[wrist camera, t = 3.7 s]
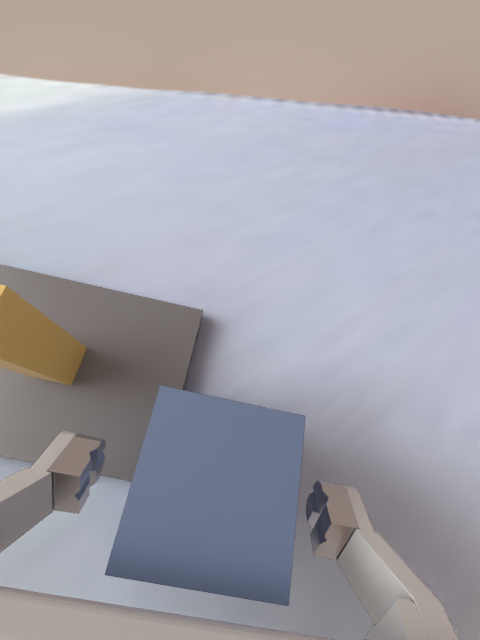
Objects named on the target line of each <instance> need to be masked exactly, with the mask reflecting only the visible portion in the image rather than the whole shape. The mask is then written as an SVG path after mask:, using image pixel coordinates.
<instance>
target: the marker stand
mask: <svg viewBox="0 0 480 640" xmlns="http://www.w3.org/2000/svg"><path fill="white" fill-rule="evenodd" d="M202 316H203V310H199V309H194V308H190V307H185V306H181V305H177V304H172V303H168V302H163V301H159V300H155V299H150V298H146V297H141V296H137V295H133V294H128V293H124V292H119V291H115V290H111V289H106V288H102V287H97V286H93V285H89V284H84V283H80V282H75V281H71V280H67V279H62V278H58V277H53V276H49V275H45V274H40V273H36V272H31V271H27V270H23V269H18V268H14V267H9V266H5V265H1V264H0V456H1V457H7V458H12V459H17V460H23V461H28V462H33V463H35V462H36V461H37V460H38V459H39V458H40V456H41V455H42V454H43V453H44V452H45V450H46V449H47V448H48V447H49V446H50V444H51V443H52V442H53V441H54V440H55V438H56V437H57V436H58V435H59V434H60V433H61V432H63V431H68V432H73V433H78V434H83V435H87V436H92V437H96V438H101V439H105V440H106V447H105V449H104V450H103V453H104V455H105V461H104V465H103V469H102V471H101V474H100V475H102V476H107V477H112V478H118V479H123V480H128V481H132V480H133V476H134V473H135V470H136V466H137V463H138V459H139V456H140V453H141V449H142V446H143V442H144V439H145V436H146V432H147V429H148V425H149V422H150V418H151V415H152V412H153V408H154V405H155V401H156V398H157V395H158V391H159V388H160V385H161V386H165V387H170V388H175V389H180V390H183V389H184V386H185V382H186V378H187V374H188V370H189V366H190V362H191V359H192V355H193V351H194V347H195V343H196V339H197V336H198V332H199V328H200V324H201V320H202Z"/></svg>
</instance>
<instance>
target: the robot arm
mask: <svg viewBox="0 0 480 640" xmlns="http://www.w3.org/2000/svg"><path fill="white" fill-rule="evenodd" d="M105 447H106V440H105V439H101V438H96V437H92V436H87V435H83V434H78V433H73V432H68V431H63V432H61V433H60V434H59V435H58V436H57V437H56V438H55V440H54V441H53V442H52V443H51V444H50V446H49V447H48V448H47V449H46V450H45V452H44V453H43V454H42V455H41V456H40V458H39V459H38V460H37V461H36V462H35V464H34V465H33V466H32V467H31V468H25V469H23V470H21V471H19V472H17V473H15V474H13V475H11V476H9V477H8V478H6V479H4V480H2V481H0V553H1V552H2V551H3V550H4V549H6V548H7V547H8V546H9V545H11V544H12V543H13V542H15V541H16V540H17V539H18V538H20V537H21V536H22V535H24V534H25V533H26V532H27V531H29V530H30V529H31V528H33V527H34V526H35V525H36V524H38V523H39V522H40V521H42V520H43V519H44V518H45V517H47V516H48V515H49V514H51V513H52V512H53V510H56V511H63V512H70V513H77V514H79V513H80V511H81V509H82V507H83V505H84V504H85V502H86V500H87V498H88V496H89V491H90V487H91V486H92V485H94V484H95V483H96V482H97V480H98V478H99V476H100V474H101V471H102V469H103V465H104V461H105V455H104V453H103V450H104V449H105ZM313 488H314V492H313V493H311V494H309V497H308V499H307V504H306V516H307V522H308V523H309V525H310V526H311V528H312V529H313V530H312V532H311V534H310V538H311V544H312V549H313V554H314V556H319V557H323V558H328V559H333V560H337V561H336V562H337V564H338V565H339V567H340V569H341V570H342V572H343V573H344V575H345V577H346V578H347V580H348V582H349V583H350V585H351V587H352V588H353V590H354V591H355V593H356V595H357V596H358V598H359V600H360V601H361V603H362V604H363V606H364V608H365V609H366V611H367V613H368V614H369V616H370V617H371V619H372V621H373V622H374V624H375V625H374V627H373V628H372V629H371V630H370V631H369V633H368V634H367V635H366V637H365V639H364V640H459V639H458V637H457V635H456V633H455V631H454V629H453V627H452V625H451V623H450V621H449V618H448V616H447V614H446V612H445V610H444V608H443V606H442V604H441V603H440V602H439V600H438V599H437V598H436V597H435V596H434V595H433V594H432V593H431V592H430V590H429V589H428V588H427V587H426V586H425V585H424V584H423V583H422V581H421V580H420V579H419V578H418V577H417V576H416V575H415V574H414V572H413V571H412V570H411V569H410V568H409V567H408V566H407V565H406V564H405V562H404V561H403V560H402V559H401V558H400V557H399V556H398V555H397V553H396V552H395V551H394V550H393V549H392V548H391V547H390V546H389V545H388V543H387V542H386V541H385V540H384V539H383V538H382V537H381V536H380V534H379V533H376V532H374V530H373V527H372V525H371V522H370V520H369V517H368V515H367V512H366V509H365V507H364V504H363V502H362V499H361V497H360V494H359V492H358V490H357V489H356V487H350V486H345V485H341V484H336V483H330V482H324V481H319V480H318V481H316V482H315V484H314V486H313ZM0 640H334V639H328V638H322V637H316V636H309V635H303V634H297V633H291V632H284V631H278V630H272V629H266V628H259V627H253V626H247V625H241V624H235V623H228V622H222V621H216V620H210V619H203V618H197V617H191V616H184V615H178V614H172V613H166V612H159V611H153V610H147V609H141V608H134V607H128V606H122V605H116V604H109V603H103V602H97V601H90V600H84V599H78V598H72V597H65V596H59V595H53V594H46V593H40V592H34V591H28V590H21V589H15V588H9V587H2V586H0Z"/></svg>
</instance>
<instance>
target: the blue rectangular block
mask: <svg viewBox="0 0 480 640" xmlns="http://www.w3.org/2000/svg"><path fill="white" fill-rule="evenodd" d="M304 426H305V416H304V415H299V414H294V413H289V412H284V411H280V410H275V409H270V408H265V407H261V406H256V405H251V404H246V403H242V402H237V401H232V400H227V399H223V398H218V397H213V396H208V395H203V394H199V393H194V392H189V391H184V390H180V389H175V388H170V387H165V386H161V385H160V388H159V391H158V395H157V398H156V401H155V405H154V408H153V412H152V415H151V418H150V422H149V425H148V429H147V432H146V436H145V439H144V442H143V446H142V449H141V453H140V456H139V459H138V463H137V466H136V470H135V473H134V476H133V480H132V483H131V487H130V490H129V493H128V497H127V500H126V504H125V507H124V510H123V514H122V517H121V521H120V524H119V527H118V531H117V534H116V538H115V541H114V544H113V548H112V551H111V555H110V558H109V561H108V565H107V568H106V572H105V575H108V576H114V577H120V578H126V579H132V580H138V581H143V582H149V583H155V584H161V585H167V586H173V587H179V588H185V589H191V590H197V591H203V592H208V593H214V594H220V595H226V596H232V597H238V598H244V599H250V600H256V601H262V602H268V603H273V604H279V605H285V606H288V605H289V594H290V583H291V572H292V560H293V549H294V538H295V527H296V516H297V505H298V493H299V482H300V471H301V460H302V449H303V438H304Z"/></svg>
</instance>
